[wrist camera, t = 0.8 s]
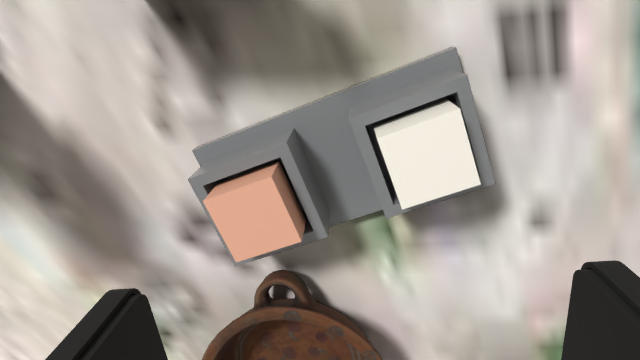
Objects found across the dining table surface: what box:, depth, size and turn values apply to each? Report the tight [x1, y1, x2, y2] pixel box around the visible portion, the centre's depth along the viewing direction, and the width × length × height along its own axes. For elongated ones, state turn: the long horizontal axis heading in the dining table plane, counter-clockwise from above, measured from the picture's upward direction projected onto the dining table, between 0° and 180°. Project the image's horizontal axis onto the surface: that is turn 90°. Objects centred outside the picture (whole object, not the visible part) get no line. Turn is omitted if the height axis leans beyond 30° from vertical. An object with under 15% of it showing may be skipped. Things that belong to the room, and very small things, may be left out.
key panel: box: [188, 47, 495, 266], centre depth 29 cm, size 21×10×5 cm, turn 112°
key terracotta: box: [203, 162, 306, 262], centre depth 27 cm, size 5×5×3 cm
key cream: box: [374, 100, 481, 210], centre depth 25 cm, size 5×5×3 cm
